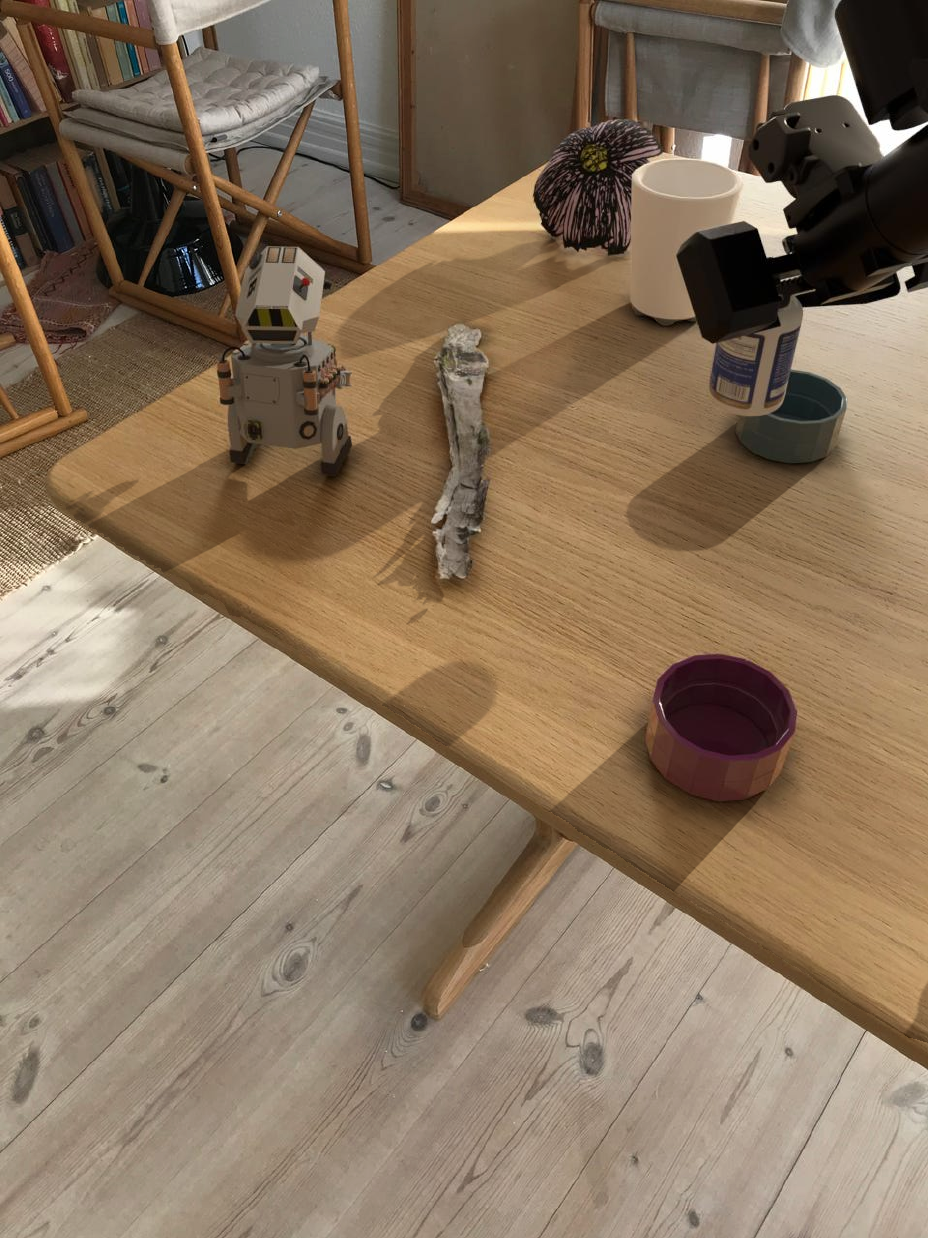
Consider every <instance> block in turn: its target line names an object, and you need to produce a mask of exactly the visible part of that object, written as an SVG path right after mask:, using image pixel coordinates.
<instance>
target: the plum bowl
mask: <svg viewBox="0 0 928 1238" xmlns="http://www.w3.org/2000/svg"><path fill="white" fill-rule="evenodd" d="M797 719H798V709H797V707H796V704H795V702H794V699H793V697H792V695H791V691H790V690H789V688H788V687H786V685H784V684H783V682H781V680H780V679H778V678H777V676H775V674H774V673H773V672H771V671H770V670H768V669H766V668H764V667H762V666H761V665H759V664H757V663H755V662H753V661H751V660H749V659H746V658H742V657H738V656H734V655H729V654H726V653H725V654H724V653H708V654H707V653H705V654H694V655H691V656H689V657H685V658H684V659H681V660H679V661H676V662H674V663H672V664H671V665H670V666H669V667H668V668H666V670H665V671H664V672H663V673H662V674H661V675H660V677H658V679H657V680H656V684H655V688H654V693H653V696H652V700H651V705H650V711H649V717H648V722H647V725H646V726H647V727H646V733H645V738H644V739H645V743H646V747H647V751H648V755H649V759H650V762H651V763H652V764H653V766H655V768H656V769H657V770H658V771H659V773H661V775H662V776H663V778H664V779H665V780H666V781H668V782H669V783H671V784H673V785H674V786H676V787H678V788H679V789H681V790H682V791H683V792H686V793H687V794H689V795H691V796H695V797H700V798H703V799H707V800H711V801H714V802H727V801H728V802H729V801H743V800H747V799H749V798H751V797H753V796H755V795H757V794H760V793H762V792H764V791H766V790H768V789H769V788H770V787H771V785H772V784H773V783H774V782H775V780H776V779H777V777H779V775H780V774H781V772H782V769H783V767H784V764H785V761H786V758H787V756H788V753H789V750H790V748H791V745H792V741H793V739H794V736H795V733H796V728H797V726H796V725H797Z"/></svg>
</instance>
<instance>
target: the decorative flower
mask: <svg viewBox="0 0 928 1238" xmlns="http://www.w3.org/2000/svg"><path fill="white" fill-rule="evenodd" d="M664 152H665V149H664V148H663V146H662V144H661V143H660V141H659V138H658V136H657V135H656V134H654V132H653V131H652V129H650V128H648V127H647V126H645V125H644V124H643V123H641V122H640V123H639V122H638V121H636V120H633V119H629V118H628V119H627V118H613V119H609V120H606V121H603V122H600V123H598V124H596V125H595V126H594V125H592V126H587V127H583V128H579V129H577V130H576V131H573V132H572V133H570V134H569V135H567V136H566V137H564V139H563V140H562V141H561V142H560V143H559V144H558V146H557V147H556V149H554V151H553V153H552V155H551V157H550V159H549V161H548V163H547V164H546V165H545V166H544V168H543V169H542V170H541V172H540V173H539V174H538V177H537V179H536V181H535V183H534V187H533V193H532V199H533V203H534V204H535V207H536V208H535V209H537V210H538V212H539V214H538V215H539V217H540V220H541V222H540V226H542V227H543V229H544V231H546V233H547V234H549V235H550V236H551V237H552V238H559V237H560V236H562V244H563V249H564V250H565V249H567V248H568V249H570V248H573V249H574V250H575V251H576V252H577V253H579V252H580V250H583V251H585V252H586V251H587V249H596V248H598V247H601V249H602V250H605V251H606V252H607V256H615V255H618V256H619V255H622V254H623V255H624V254H625V252H627V250H628V248H629V247H630V245H631V203H632V174H633V173H634V172H635V170H636V169H638V168H639V167H641V166H643V165H644V164H647V163H650V162H651V161H650V160H649V159H652V158H656V157H659V156H661V155H662V154H663V153H664Z"/></svg>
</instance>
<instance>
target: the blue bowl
mask: <svg viewBox="0 0 928 1238" xmlns="http://www.w3.org/2000/svg"><path fill="white" fill-rule="evenodd" d="M847 407H848V397H847V395H846V394H845V392H844V391H843V389H842V388H841V387H840V386H838V385H837V384H835V383H834V381H831V380H830V379H828V378H826V377H823V376H821V375H818V374H815V373H813V372H809V371H804V370H797V369H792V368H791V371H790V375H789V379H788V384H787V388H786V393H785V396H784V400H783V403H782V404H781V406H780V407H779V408H778V409H777V410H775V411H773V412H771V413H769V414H766V415H761V416H741V415H737V421H736V426H735V434H736V436H737V438H738V440H739V442H740V444H741V445H743V446H744V447H745V448H746V449H748V451H750V452H751V453H753V454H755V455H758V456H760V457H762V458H765V459H768V460H770V461H773V462H774V461H775V462H778V463H785V464H786V463H787V464H802V463H812V462H815V461H818V460H820V459H823V458H825V457H827V456H828V455H829V454H830V453H831V452H832V451H833V450H834V449H835V448H836V445H837V441H838V438H839V435H840V432H841V428H842V425H843V422H844V419H845V415H846V412H847Z"/></svg>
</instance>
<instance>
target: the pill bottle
mask: <svg viewBox="0 0 928 1238" xmlns="http://www.w3.org/2000/svg"><path fill="white" fill-rule="evenodd" d="M799 276H801V275H798V276H794V277H796V278H798V277H799ZM794 277H790V278H791V279H793V278H794ZM790 278H786V279H782V280H781V282H782V281H783V280H786V281H787V280H788V279H790ZM778 317H779V320H780V323H781V326H780V327H777V328H773V329H769V330H765V331H761V332H758V333H754V334H750V335H745V336H742V337H738V338H734V339H730V340H726V341H723V342H719V343H715V347H714V353H713V359H712V366H711V372H710V376H709V383H708V397H709V399H710V401H711V402H712V403H713V404H714V405H715V406H716V407H717V408H719V409H720V410H722V411H723V412H725V413H729V414H731V415H732V414H733V415H736V416H739V415H741V416H761V415H766V414H769V413H771V412H773V411H775V410H777V409H778V408H779V407H780V406H781V404H782V403H783V400H784V396H785V393H786V388H787V384H788V379H789V375H790V371H791V369H792V366H793V361H794V358H795V354H796V350H797V344H798V341H799V336H800V332H801V327H802V323H803V319H804V308H803V307H802V305H801V303H800V301H799V300H798V299H797V298H796V297H795V296H792V297H791V299H790V304H789V306H788V307H787V308H786V309H784V310H782V311H779V312H778Z"/></svg>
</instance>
